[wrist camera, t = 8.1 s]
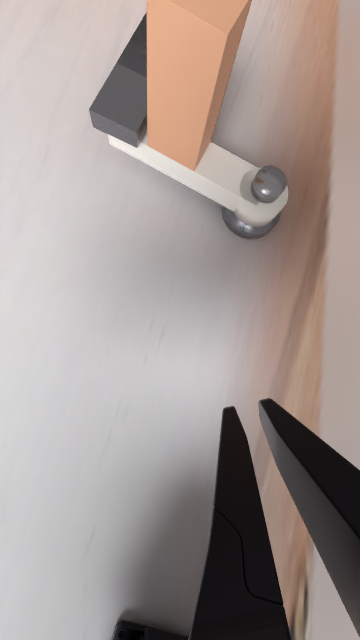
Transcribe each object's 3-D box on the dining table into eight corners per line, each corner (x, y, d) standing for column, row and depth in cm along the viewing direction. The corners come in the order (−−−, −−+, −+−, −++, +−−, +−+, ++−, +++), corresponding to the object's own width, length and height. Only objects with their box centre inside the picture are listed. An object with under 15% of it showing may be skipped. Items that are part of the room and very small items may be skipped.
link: (283, 197, 23) (397, 63, 13) (265, 235, 22) (369, 127, 12) (130, 112, 23) (113, -105, 12) (106, 148, 22) (67, -48, 11)
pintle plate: (267, 246, 24) (293, 222, 19) (215, 226, 23) (230, 197, 19) (281, 198, 25) (309, 164, 20) (231, 178, 24) (249, 140, 20)
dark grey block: (187, 86, 25) (197, 20, 20) (139, 180, 23) (136, 132, 18) (153, 69, 25) (154, -2, 20) (101, 162, 23) (89, 109, 18)
